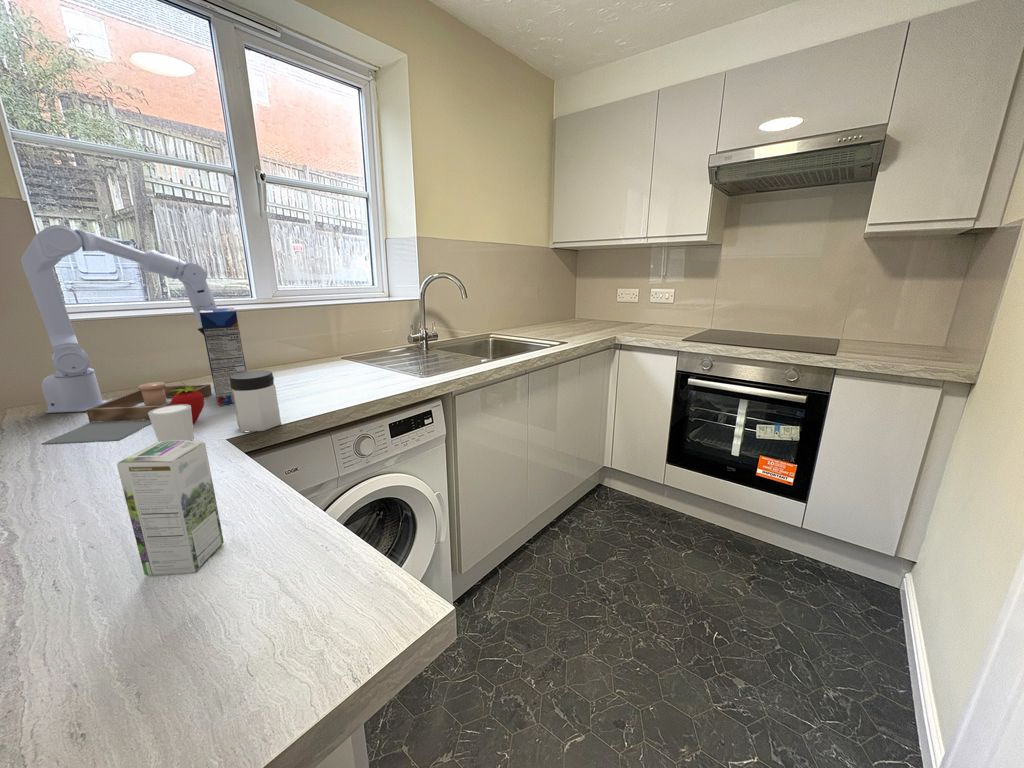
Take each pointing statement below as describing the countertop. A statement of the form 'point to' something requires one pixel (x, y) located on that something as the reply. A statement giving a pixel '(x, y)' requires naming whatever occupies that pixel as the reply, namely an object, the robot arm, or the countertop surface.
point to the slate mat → (101, 432)
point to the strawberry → (189, 400)
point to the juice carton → (223, 349)
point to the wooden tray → (122, 405)
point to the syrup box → (172, 506)
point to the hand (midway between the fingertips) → (221, 349)
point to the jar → (255, 400)
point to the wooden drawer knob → (153, 393)
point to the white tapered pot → (172, 422)
